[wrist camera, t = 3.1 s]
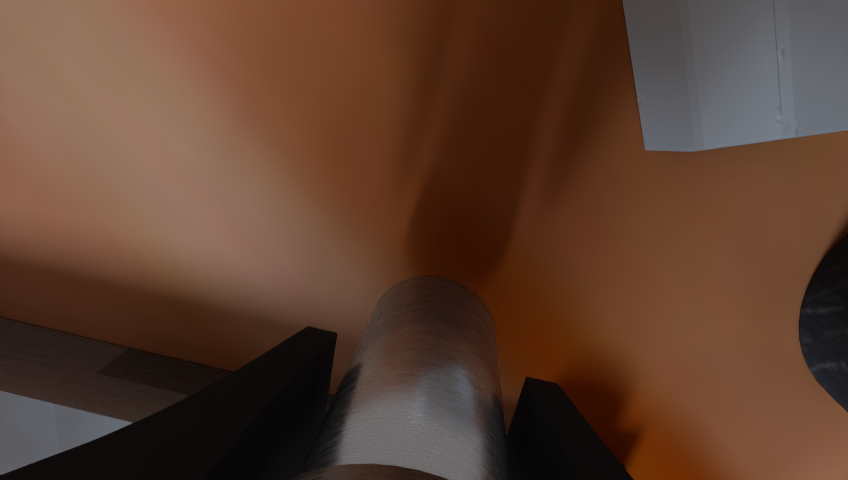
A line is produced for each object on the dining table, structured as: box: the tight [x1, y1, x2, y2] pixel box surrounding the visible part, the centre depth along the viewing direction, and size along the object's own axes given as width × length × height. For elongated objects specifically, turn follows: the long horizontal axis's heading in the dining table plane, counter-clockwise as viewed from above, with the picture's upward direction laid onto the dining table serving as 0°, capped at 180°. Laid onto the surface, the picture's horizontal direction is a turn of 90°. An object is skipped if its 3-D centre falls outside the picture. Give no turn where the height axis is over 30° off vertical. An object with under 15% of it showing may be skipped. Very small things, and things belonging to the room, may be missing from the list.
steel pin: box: [287, 275, 510, 480], centre depth 8 cm, size 4×4×7 cm
